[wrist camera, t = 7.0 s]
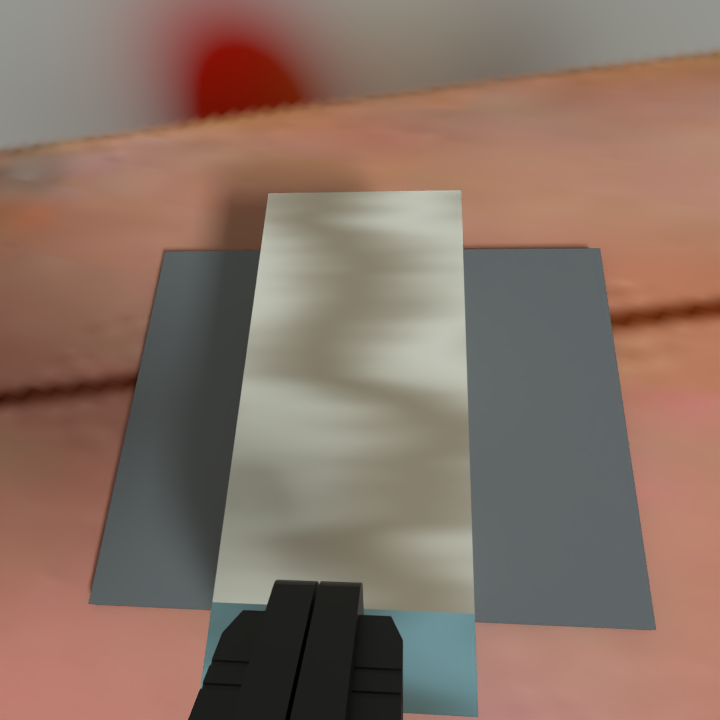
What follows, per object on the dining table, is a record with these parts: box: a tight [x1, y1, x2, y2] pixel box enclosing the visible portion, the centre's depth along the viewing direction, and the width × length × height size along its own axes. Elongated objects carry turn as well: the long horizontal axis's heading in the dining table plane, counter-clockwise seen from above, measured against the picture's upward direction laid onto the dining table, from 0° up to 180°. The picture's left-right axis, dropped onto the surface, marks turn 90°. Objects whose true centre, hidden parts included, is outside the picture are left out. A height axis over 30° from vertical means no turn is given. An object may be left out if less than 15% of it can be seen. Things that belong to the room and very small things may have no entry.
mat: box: [89, 248, 656, 630], centre depth 23 cm, size 18×14×1 cm
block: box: [200, 190, 478, 717], centre depth 19 cm, size 6×6×14 cm
